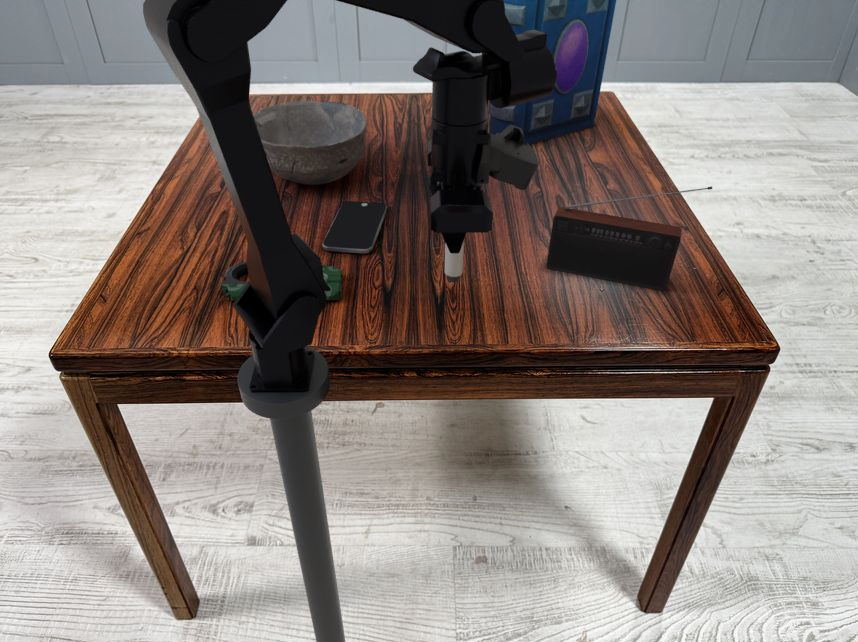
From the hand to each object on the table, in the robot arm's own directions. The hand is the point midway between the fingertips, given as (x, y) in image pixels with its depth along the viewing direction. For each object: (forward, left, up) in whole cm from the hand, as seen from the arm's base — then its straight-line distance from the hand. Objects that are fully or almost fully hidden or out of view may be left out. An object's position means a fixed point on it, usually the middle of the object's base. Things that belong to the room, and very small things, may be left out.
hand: (454, 247), depth 77 cm
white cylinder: (0, 0, -4) cm, 4 cm away
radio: (+10, -23, -11) cm, 28 cm away
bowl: (+43, +23, -11) cm, 50 cm away
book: (+62, -21, -11) cm, 66 cm away
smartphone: (+24, +14, -11) cm, 30 cm away
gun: (+9, +23, -11) cm, 27 cm away
